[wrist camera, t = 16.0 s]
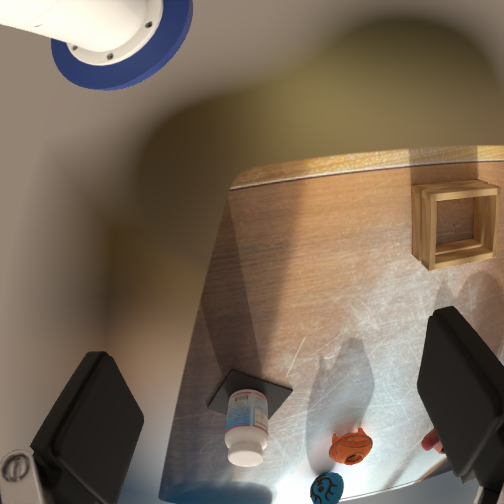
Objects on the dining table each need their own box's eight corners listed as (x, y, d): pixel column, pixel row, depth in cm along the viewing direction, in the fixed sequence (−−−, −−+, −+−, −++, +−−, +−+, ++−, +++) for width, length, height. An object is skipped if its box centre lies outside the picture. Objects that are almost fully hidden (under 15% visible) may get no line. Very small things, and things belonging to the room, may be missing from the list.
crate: (411, 254, 37) (428, 271, 32) (411, 185, 34) (430, 194, 29) (476, 243, 36) (496, 257, 32) (478, 179, 33) (501, 187, 28)
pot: (319, 448, 51) (325, 472, 45) (334, 417, 50) (343, 441, 44) (356, 451, 52) (365, 473, 45) (373, 421, 51) (384, 443, 44)
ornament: (333, 464, 54) (338, 503, 45) (345, 469, 55) (352, 506, 46) (303, 478, 57) (305, 516, 48) (316, 483, 58) (320, 519, 49)
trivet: (207, 407, 48) (207, 408, 48) (231, 368, 44) (231, 370, 44) (263, 424, 49) (263, 426, 49) (292, 389, 46) (293, 391, 45)
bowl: (483, 380, 46) (501, 408, 38) (476, 416, 50) (489, 441, 43) (411, 414, 48) (424, 446, 41) (411, 445, 53) (421, 474, 45)
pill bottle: (226, 410, 47) (220, 466, 37) (231, 384, 45) (224, 444, 35) (264, 414, 48) (263, 471, 37) (271, 390, 45) (272, 450, 35)
